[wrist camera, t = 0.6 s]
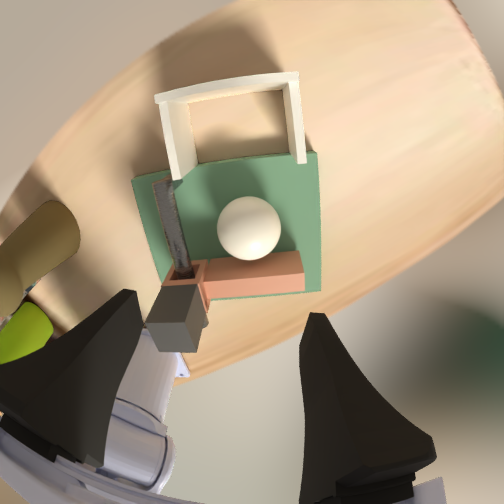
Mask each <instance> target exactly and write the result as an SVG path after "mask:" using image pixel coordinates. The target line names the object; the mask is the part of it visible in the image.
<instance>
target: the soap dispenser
mask: <svg viewBox="0 0 504 504" xmlns="http://www.w3.org/2000/svg"><path fill="white" fill-rule="evenodd" d="M52 333H53V326H52V324H51V322H50V320H49V318H48V317H47V316H46V314H45V313H44V312H43V311H42V310H41V309H40V308H39V307H38V306H36V305H35V304H33V303H31V302H25V303H24V304H23V305H22V306H21V307H20V308H19V310H18V311H17V312H16V313H15V314H14V316H13V317H12V318H11V319H10V321H9V322H8V323H7V324H6V326H5V327H4V328H3V329H2V331H1V332H0V364H3V363H7V362H10V361H13V360H16V359H18V358H21V357H23V356H25V355H28V354H30V353H32V352H34V351H36V350H38V349H40V348H42V347H43V346H44V345H45V343H46V342H47V340H48V339H49V337H50V336H51V334H52Z"/></svg>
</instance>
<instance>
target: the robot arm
mask: <svg viewBox="0 0 504 504" xmlns="http://www.w3.org/2000/svg"><path fill="white" fill-rule="evenodd" d="M143 325H144V324H143V320H142V316H141V311H140V307H139V302H138V297H137V293H136V291H134V290H129V289H123V290H121V291H120V292H119V293H117V294H116V295H115V296H114V297H112V298H111V299H110V300H109V301H107V302H106V303H105V304H104V305H103V306H101V307H100V308H99V309H98V310H96V311H95V312H94V313H93V314H91V315H90V316H89V317H88V318H86V319H85V320H83V321H82V322H81V323H79V324H78V325H77V326H75V327H74V328H73V329H71V330H70V331H68V332H67V333H66V334H64V335H63V336H61V337H59V338H58V339H56V340H54V341H53V342H51V343H49V344H47V345H46V346H44V347H42V348H40V349H38V350H36V351H34V352H32V353H30V354H28V355H25V356H23V357H21V358H18V359H16V360H13V361H10V362H7V363H3V364H0V410H1V411H2V412H3V413H4V415H3V416H2V417H1V416H0V477H1V478H2V479H3V480H4V481H5V482H6V483H7V484H8V485H9V486H10V487H12V488H13V489H14V490H15V491H16V492H17V493H18V494H19V495H21V496H22V497H23V498H24V499H25V500H26V501H28V502H29V503H30V504H203V503H197V502H191V501H185V500H181V499H176V498H172V497H167V496H163V495H159V494H160V492H161V490H162V488H163V486H164V485H165V484H166V483H167V481H168V480H169V478H170V476H171V473H172V470H173V467H174V463H175V457H176V448H175V445H174V443H173V440H172V438H171V437H170V436H168V435H166V432H167V428H168V427H167V426H166V425H164V424H163V422H164V418H165V414H166V410H167V406H168V402H169V398H170V394H171V391H172V387H173V383H174V379H175V377H189V376H190V372H189V370H188V368H187V365H186V363H185V361H184V359H183V357H182V355H181V353H180V352H159V351H158V349H157V347H156V345H155V343H154V341H153V339H152V337H151V335H150V333H149V331H148V329H147V328H143ZM299 346H300V347H299V367H300V376H301V385H302V393H303V402H304V412H305V443H304V461H303V474H302V482H301V491H300V497H299V504H446V497H445V491H444V485H443V479H442V477H438V478H435V479H433V480H430V481H427V482H424V483H421V484H419V485H416V486H413V485H412V481H414V480H415V479H416V477H415V472H417V471H418V470H420V469H422V468H424V467H426V466H428V465H429V464H431V463H432V462H434V461H435V459H436V458H437V456H436V452H435V447H434V443H433V440H432V437H431V436H429V435H428V434H426V433H425V432H423V431H422V430H421V429H419V428H418V427H416V426H415V425H413V424H412V423H411V422H410V421H408V420H407V419H406V418H405V417H404V416H402V415H401V414H400V413H399V412H398V411H397V410H396V409H394V408H393V407H392V406H391V405H390V404H389V403H388V402H387V401H386V400H385V399H384V398H383V397H382V396H381V395H380V394H379V392H378V391H377V390H376V389H375V388H374V387H373V386H372V384H371V383H370V382H369V381H368V380H367V378H366V377H365V376H364V374H363V373H362V372H361V371H360V369H359V368H358V366H357V365H356V364H355V362H354V361H353V359H352V358H351V356H350V355H349V353H348V352H347V350H346V348H345V347H344V345H343V344H342V342H341V341H340V339H339V337H338V335H337V334H336V332H335V330H334V329H333V327H332V325H331V323H330V322H329V320H328V318H327V316H326V315H325V313H312V312H310V314H309V317H308V320H307V323H306V327H305V330H304V333H303V336H302V339H301V342H300V345H299Z"/></svg>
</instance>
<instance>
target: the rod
mask: <svg viewBox="0 0 504 504" xmlns="http://www.w3.org/2000/svg"><path fill="white" fill-rule="evenodd" d="M182 183H183V179H178V180H173V178H172V174H171V173H170V174H168V175H167V176H165V177H164V178H163V179H161V180H157V181H155V182H153V183H152V187H153V191H154V195H155V200H156V204H157V207H158V211H159V215H160V219H161V223H162V227H163V230H164V234H165V237H166V241H167V245H168V248H169V251H170V255H171V258H172V262H173V265H174V268H175V271H176V275H177V278H178V280H184V279H195V274H194V270H193V266H192V263H191V259H190V255H189V251H188V247H187V244H186V240H185V236H184V232H183V228H182V224H181V219H180V215H179V211H178V207H177V202H176V198H175V194H174V191H175V190H176V189H177V188H178V187H179V186H180V185H181V184H182ZM208 323H209V322H208V318H207V315H205V320H204V324H203V328H205V327H206V326H207V325H208Z"/></svg>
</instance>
